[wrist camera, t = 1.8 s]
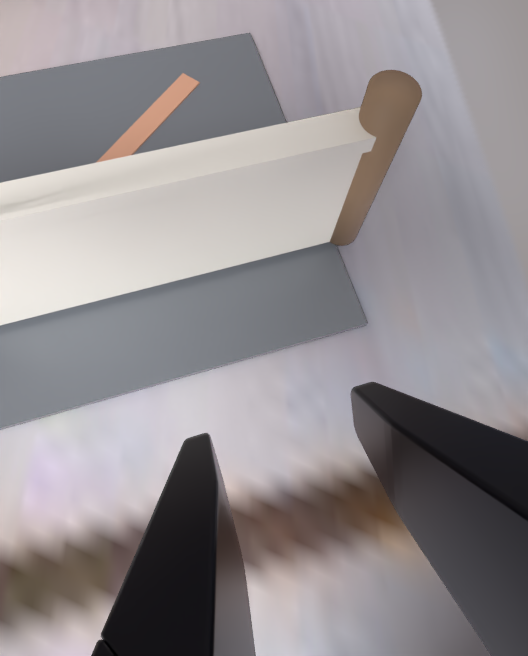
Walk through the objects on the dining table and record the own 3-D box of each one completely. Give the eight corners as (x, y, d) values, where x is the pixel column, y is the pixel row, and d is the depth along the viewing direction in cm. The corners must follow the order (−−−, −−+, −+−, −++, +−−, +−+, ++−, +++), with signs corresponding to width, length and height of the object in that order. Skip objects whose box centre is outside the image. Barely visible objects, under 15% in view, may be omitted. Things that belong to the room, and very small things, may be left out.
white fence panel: (-27, 340, 20) (-209, 243, 12) (-31, 304, 21) (-208, 188, 12) (362, 240, 23) (430, 106, 15) (349, 211, 23) (408, 65, 15)
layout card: (-357, 531, 18) (-370, 532, 17) (-312, 137, 24) (-320, 132, 23) (366, 325, 22) (368, 322, 22) (250, 37, 28) (250, 31, 28)
